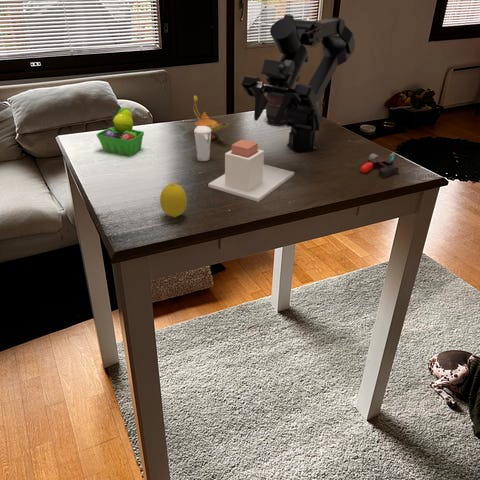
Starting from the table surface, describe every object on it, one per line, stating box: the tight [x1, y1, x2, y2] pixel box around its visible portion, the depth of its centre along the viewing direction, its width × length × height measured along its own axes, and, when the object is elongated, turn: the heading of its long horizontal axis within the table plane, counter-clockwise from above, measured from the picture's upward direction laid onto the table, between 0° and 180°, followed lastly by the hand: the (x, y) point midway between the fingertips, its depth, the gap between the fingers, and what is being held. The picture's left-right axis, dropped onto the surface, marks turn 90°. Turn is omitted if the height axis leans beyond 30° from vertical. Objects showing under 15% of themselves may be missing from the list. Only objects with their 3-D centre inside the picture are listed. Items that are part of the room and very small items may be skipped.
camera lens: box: [265, 80, 287, 127], centre depth 153 cm, size 8×8×15 cm
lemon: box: [159, 182, 188, 219], centre depth 100 cm, size 6×6×8 cm
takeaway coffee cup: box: [193, 125, 214, 162], centre depth 127 cm, size 4×5×10 cm
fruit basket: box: [95, 107, 145, 157], centre depth 132 cm, size 11×9×11 cm
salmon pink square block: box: [231, 139, 259, 158], centre depth 111 cm, size 4×4×3 cm
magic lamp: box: [193, 95, 228, 140], centre depth 141 cm, size 7×18×11 cm, turn 36°
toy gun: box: [359, 151, 400, 179], centre depth 125 cm, size 10×12×5 cm
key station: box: [207, 149, 295, 203], centre depth 116 cm, size 18×14×9 cm
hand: (265, 121), depth 115 cm, fingers open, 5 cm apart
